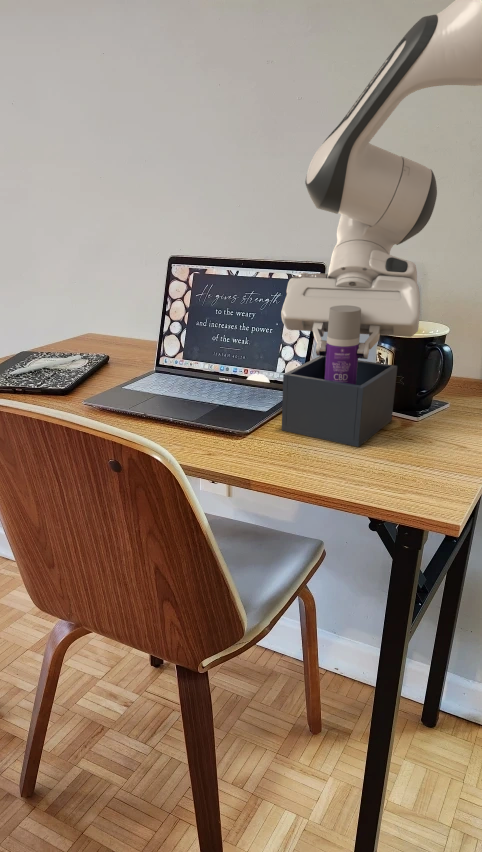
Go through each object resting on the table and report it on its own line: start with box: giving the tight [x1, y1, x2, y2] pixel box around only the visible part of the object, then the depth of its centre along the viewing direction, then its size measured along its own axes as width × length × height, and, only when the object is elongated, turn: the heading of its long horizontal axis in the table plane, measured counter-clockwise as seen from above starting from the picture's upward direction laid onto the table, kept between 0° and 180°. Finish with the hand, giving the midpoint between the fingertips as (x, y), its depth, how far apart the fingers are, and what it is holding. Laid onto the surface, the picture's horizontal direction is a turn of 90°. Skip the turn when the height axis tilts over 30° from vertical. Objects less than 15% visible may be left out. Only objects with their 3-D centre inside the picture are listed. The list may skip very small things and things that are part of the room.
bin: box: [281, 356, 398, 448], centre depth 104 cm, size 13×13×9 cm
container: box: [325, 305, 361, 385], centre depth 102 cm, size 5×5×15 cm
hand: (341, 355), depth 101 cm, fingers closed on container, 4 cm apart
